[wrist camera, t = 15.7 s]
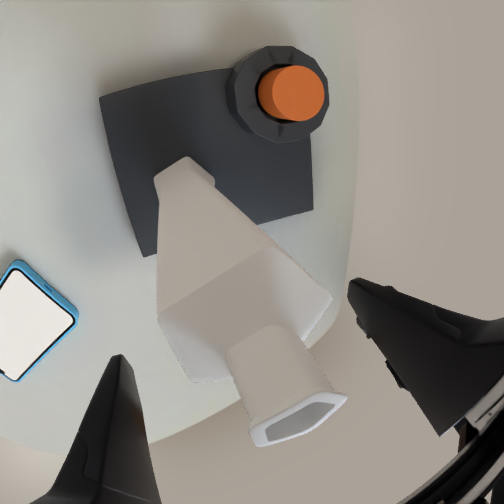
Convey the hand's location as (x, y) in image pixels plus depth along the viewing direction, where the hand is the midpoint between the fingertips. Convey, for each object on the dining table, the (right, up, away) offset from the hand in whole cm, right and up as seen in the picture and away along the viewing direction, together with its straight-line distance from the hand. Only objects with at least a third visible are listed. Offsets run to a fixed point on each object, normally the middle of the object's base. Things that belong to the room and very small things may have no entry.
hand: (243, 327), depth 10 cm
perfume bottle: (-4, +7, +7) cm, 11 cm away
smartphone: (-22, -4, +8) cm, 23 cm away
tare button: (+2, +12, +5) cm, 13 cm away
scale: (-2, +9, +8) cm, 12 cm away
